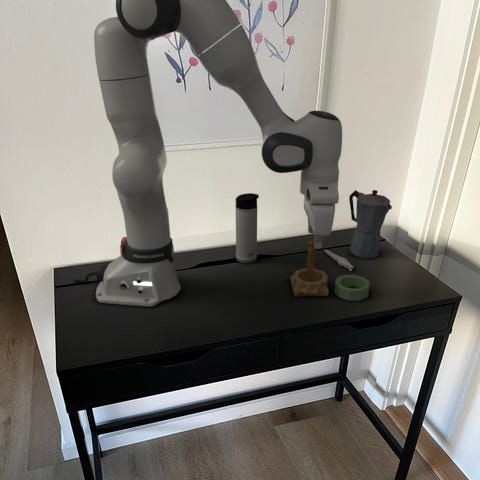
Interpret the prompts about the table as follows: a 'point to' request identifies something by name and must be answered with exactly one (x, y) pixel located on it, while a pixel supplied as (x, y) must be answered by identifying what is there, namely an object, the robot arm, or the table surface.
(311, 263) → the peg stand
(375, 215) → the moka pot
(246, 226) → the travel mug
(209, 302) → the table surface
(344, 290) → the sage ring
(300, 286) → the birch ring
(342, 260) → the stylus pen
